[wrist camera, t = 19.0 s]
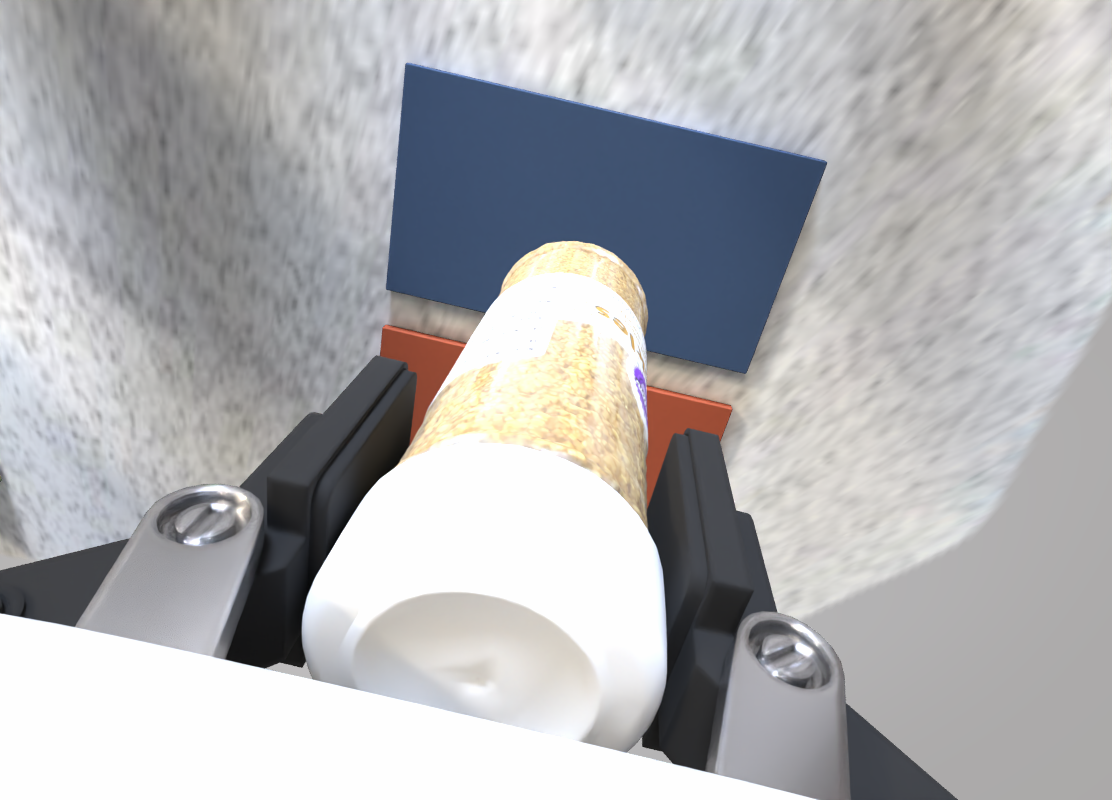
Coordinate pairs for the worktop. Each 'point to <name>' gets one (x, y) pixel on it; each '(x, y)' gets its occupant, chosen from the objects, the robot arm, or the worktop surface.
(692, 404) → the terracotta mat
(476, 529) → the sprinkles bottle
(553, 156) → the slate-blue mat
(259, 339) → the worktop surface
